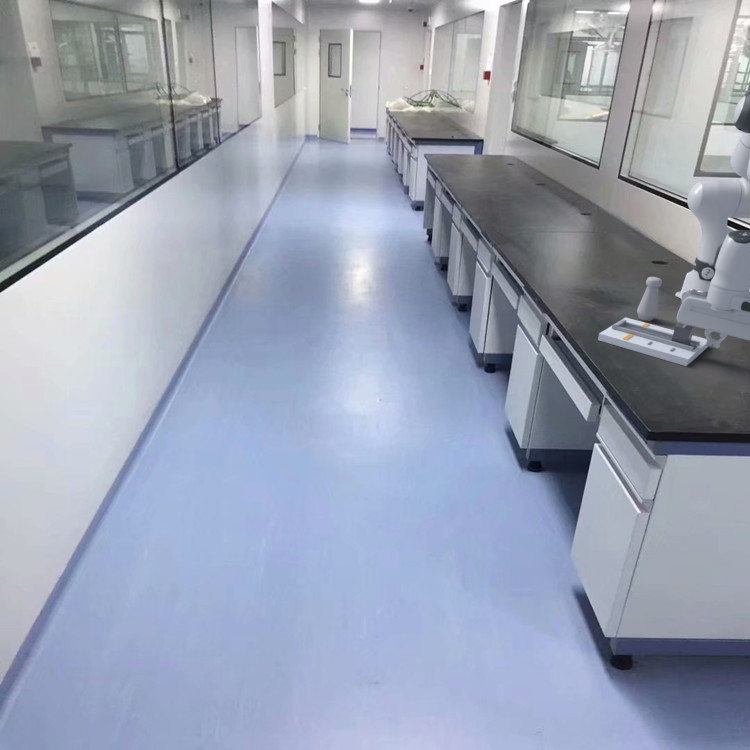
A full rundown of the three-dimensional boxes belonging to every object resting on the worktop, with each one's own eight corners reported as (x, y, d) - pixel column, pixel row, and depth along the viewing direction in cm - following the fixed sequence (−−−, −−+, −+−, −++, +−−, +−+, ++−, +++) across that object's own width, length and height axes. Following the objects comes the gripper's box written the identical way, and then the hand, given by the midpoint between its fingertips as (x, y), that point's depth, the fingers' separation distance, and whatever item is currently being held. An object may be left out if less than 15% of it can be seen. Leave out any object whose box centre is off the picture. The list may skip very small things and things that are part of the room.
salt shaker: (650, 315, 194) (660, 275, 188) (659, 322, 188) (669, 281, 183) (632, 315, 193) (641, 274, 188) (640, 322, 188) (649, 280, 182)
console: (624, 323, 187) (626, 312, 185) (708, 346, 172) (711, 335, 171) (597, 340, 175) (600, 328, 173) (686, 366, 160) (689, 353, 159)
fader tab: (674, 340, 170) (679, 321, 168) (689, 344, 168) (694, 325, 166) (670, 343, 169) (675, 324, 166) (686, 347, 166) (691, 328, 164)
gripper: (680, 289, 161) (667, 338, 167) (768, 309, 149) (751, 362, 155) (688, 284, 165) (675, 332, 171) (774, 303, 153) (757, 354, 159)
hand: (712, 346), depth 163 cm, fingers closed
